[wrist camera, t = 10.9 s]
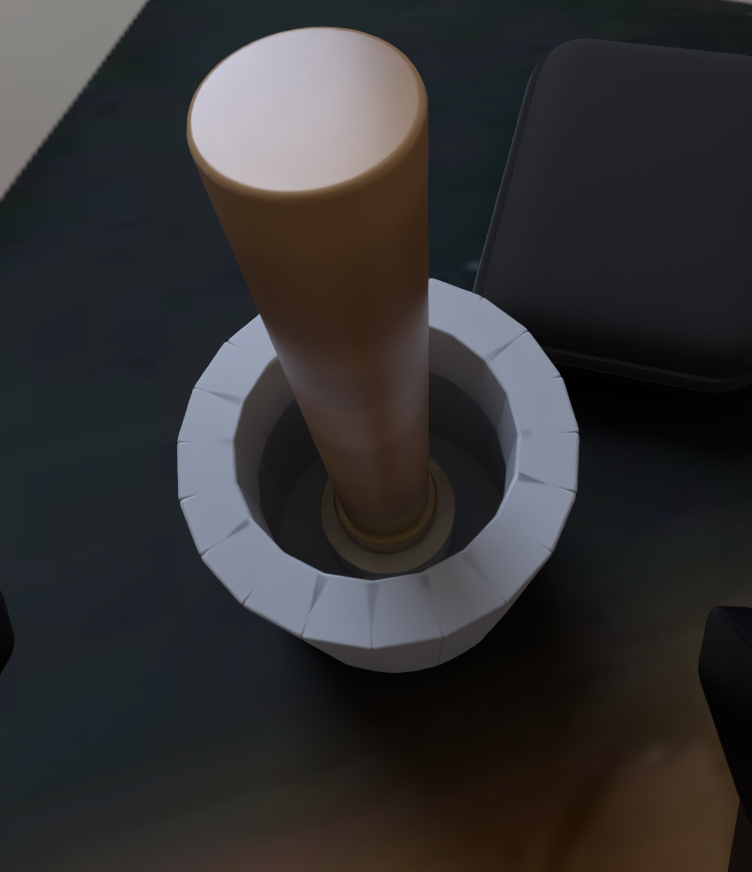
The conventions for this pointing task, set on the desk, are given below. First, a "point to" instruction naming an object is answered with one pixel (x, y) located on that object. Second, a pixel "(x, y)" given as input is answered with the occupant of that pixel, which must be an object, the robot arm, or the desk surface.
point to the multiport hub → (741, 844)
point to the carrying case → (631, 217)
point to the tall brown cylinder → (338, 269)
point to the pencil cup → (448, 445)
